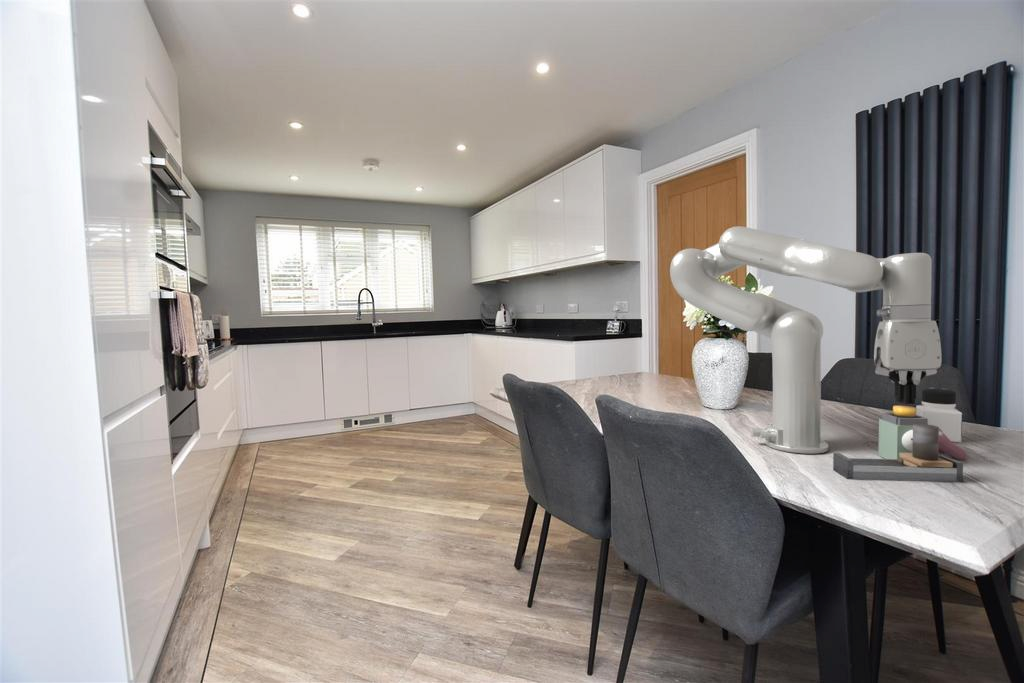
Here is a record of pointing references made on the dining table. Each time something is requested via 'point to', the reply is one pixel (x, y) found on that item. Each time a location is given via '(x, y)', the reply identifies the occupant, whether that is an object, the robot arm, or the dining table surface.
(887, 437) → the gauge cabinet
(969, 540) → the dining table surface
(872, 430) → the dining table surface
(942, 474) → the track
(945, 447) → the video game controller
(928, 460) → the carriage
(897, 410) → the button
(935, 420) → the medicine bottle
